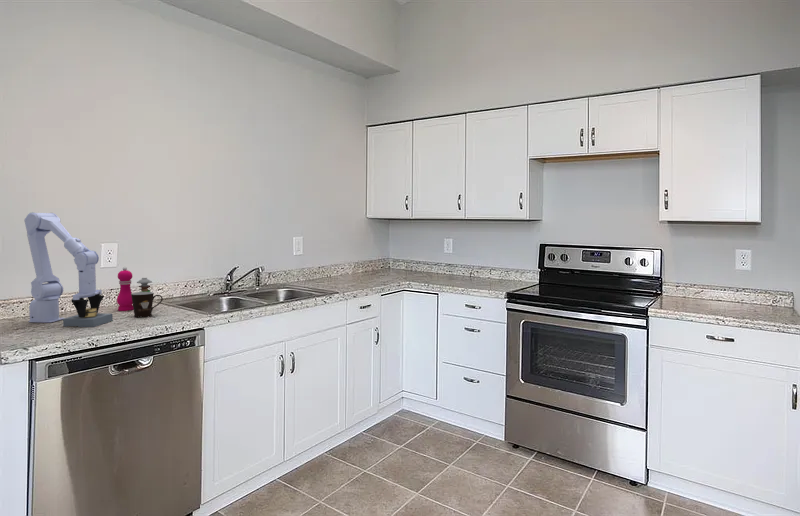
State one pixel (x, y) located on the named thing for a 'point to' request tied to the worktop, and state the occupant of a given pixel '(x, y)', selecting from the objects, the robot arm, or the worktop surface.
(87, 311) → the cylinder
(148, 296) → the coffee mug
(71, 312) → the worktop surface
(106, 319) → the bore block
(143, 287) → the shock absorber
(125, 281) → the pepper mill
